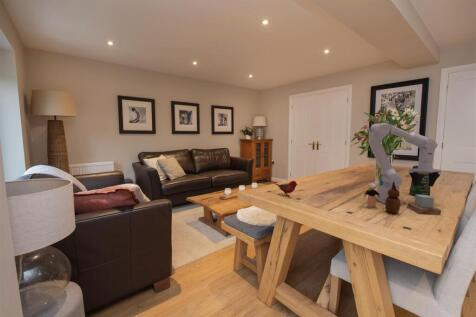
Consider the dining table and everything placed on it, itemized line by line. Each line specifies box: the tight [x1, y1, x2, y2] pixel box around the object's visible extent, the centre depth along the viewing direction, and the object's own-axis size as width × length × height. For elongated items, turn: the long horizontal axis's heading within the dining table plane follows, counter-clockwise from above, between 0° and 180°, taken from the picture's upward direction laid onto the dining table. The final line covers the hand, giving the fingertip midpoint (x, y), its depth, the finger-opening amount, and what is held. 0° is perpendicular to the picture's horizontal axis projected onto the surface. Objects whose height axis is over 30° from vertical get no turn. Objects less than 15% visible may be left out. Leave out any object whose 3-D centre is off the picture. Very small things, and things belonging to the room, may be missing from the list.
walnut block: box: [406, 202, 442, 216], centre depth 106 cm, size 9×9×3 cm
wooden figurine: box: [384, 181, 401, 214], centre depth 104 cm, size 7×6×15 cm
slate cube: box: [414, 195, 435, 208], centre depth 106 cm, size 5×5×5 cm
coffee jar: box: [408, 165, 434, 197], centre depth 132 cm, size 10×8×19 cm
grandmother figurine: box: [363, 182, 380, 209], centre depth 111 cm, size 8×4×13 cm, turn 92°
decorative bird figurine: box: [273, 180, 298, 197], centre depth 132 cm, size 3×18×10 cm, turn 42°
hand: (422, 186), depth 118 cm, fingers open, 7 cm apart
